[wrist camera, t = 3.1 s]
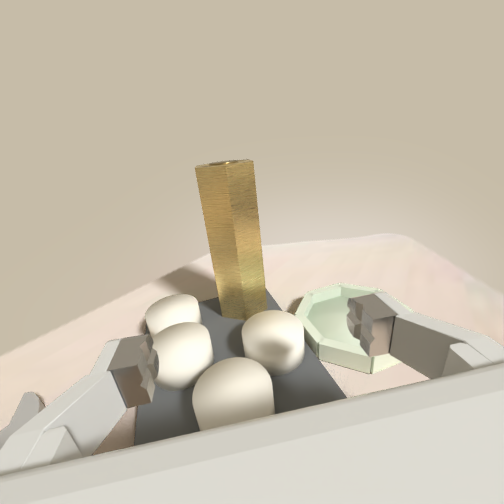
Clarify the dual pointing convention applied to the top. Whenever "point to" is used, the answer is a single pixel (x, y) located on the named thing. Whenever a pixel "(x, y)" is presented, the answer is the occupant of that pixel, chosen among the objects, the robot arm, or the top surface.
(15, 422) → the adjustable wrench
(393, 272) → the top surface
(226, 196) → the coupling nut
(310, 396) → the mat
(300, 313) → the dish
